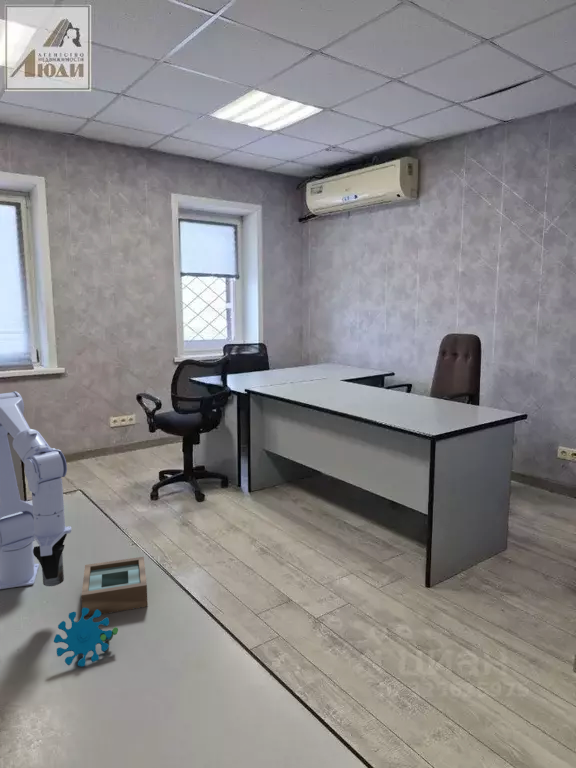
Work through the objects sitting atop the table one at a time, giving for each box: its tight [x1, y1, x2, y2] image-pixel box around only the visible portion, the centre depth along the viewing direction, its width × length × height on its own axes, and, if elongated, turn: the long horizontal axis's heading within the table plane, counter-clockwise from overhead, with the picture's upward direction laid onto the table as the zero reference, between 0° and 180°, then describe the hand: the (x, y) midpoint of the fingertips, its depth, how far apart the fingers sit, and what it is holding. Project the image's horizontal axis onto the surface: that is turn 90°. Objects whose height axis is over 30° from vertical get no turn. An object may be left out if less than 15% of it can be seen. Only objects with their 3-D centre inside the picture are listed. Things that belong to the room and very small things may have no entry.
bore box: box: [81, 556, 148, 618], centre depth 115 cm, size 13×13×5 cm
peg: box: [41, 545, 65, 587], centre depth 107 cm, size 4×4×7 cm
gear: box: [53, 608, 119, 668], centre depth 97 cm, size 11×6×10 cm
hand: (52, 572), depth 107 cm, fingers closed on peg, 4 cm apart
